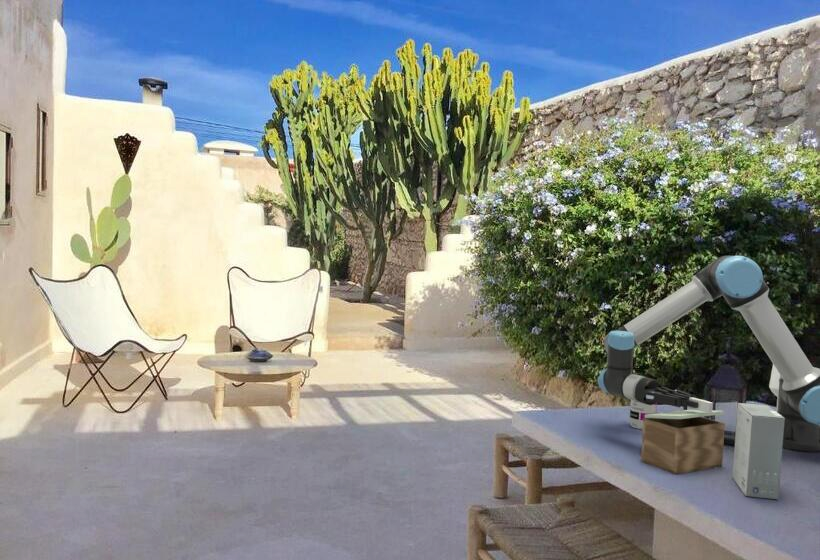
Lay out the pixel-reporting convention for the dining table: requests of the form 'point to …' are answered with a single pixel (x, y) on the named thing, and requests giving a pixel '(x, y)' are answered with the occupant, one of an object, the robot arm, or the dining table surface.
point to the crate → (682, 444)
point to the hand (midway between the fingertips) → (710, 407)
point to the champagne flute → (774, 382)
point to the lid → (683, 414)
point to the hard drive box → (758, 450)
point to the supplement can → (640, 413)
